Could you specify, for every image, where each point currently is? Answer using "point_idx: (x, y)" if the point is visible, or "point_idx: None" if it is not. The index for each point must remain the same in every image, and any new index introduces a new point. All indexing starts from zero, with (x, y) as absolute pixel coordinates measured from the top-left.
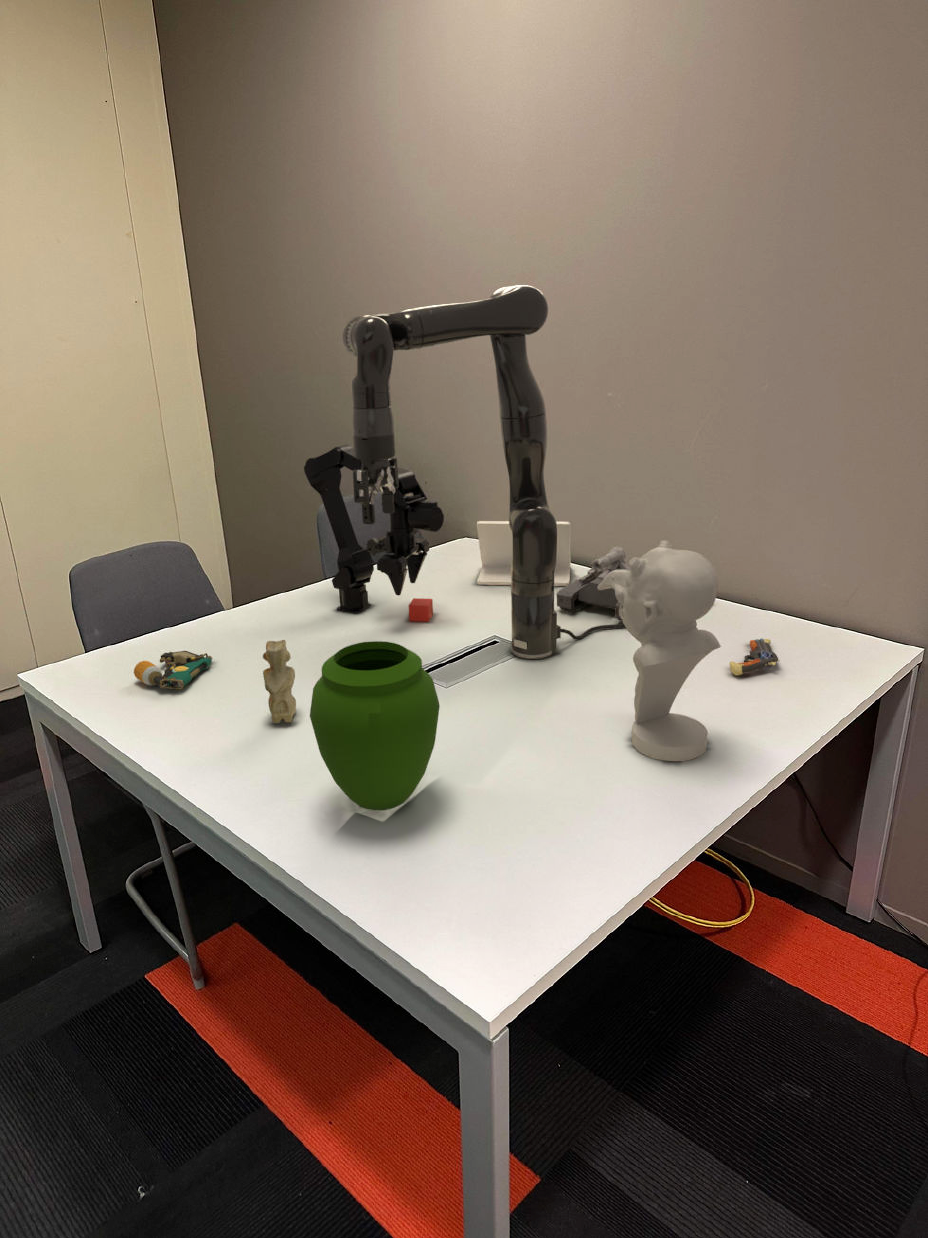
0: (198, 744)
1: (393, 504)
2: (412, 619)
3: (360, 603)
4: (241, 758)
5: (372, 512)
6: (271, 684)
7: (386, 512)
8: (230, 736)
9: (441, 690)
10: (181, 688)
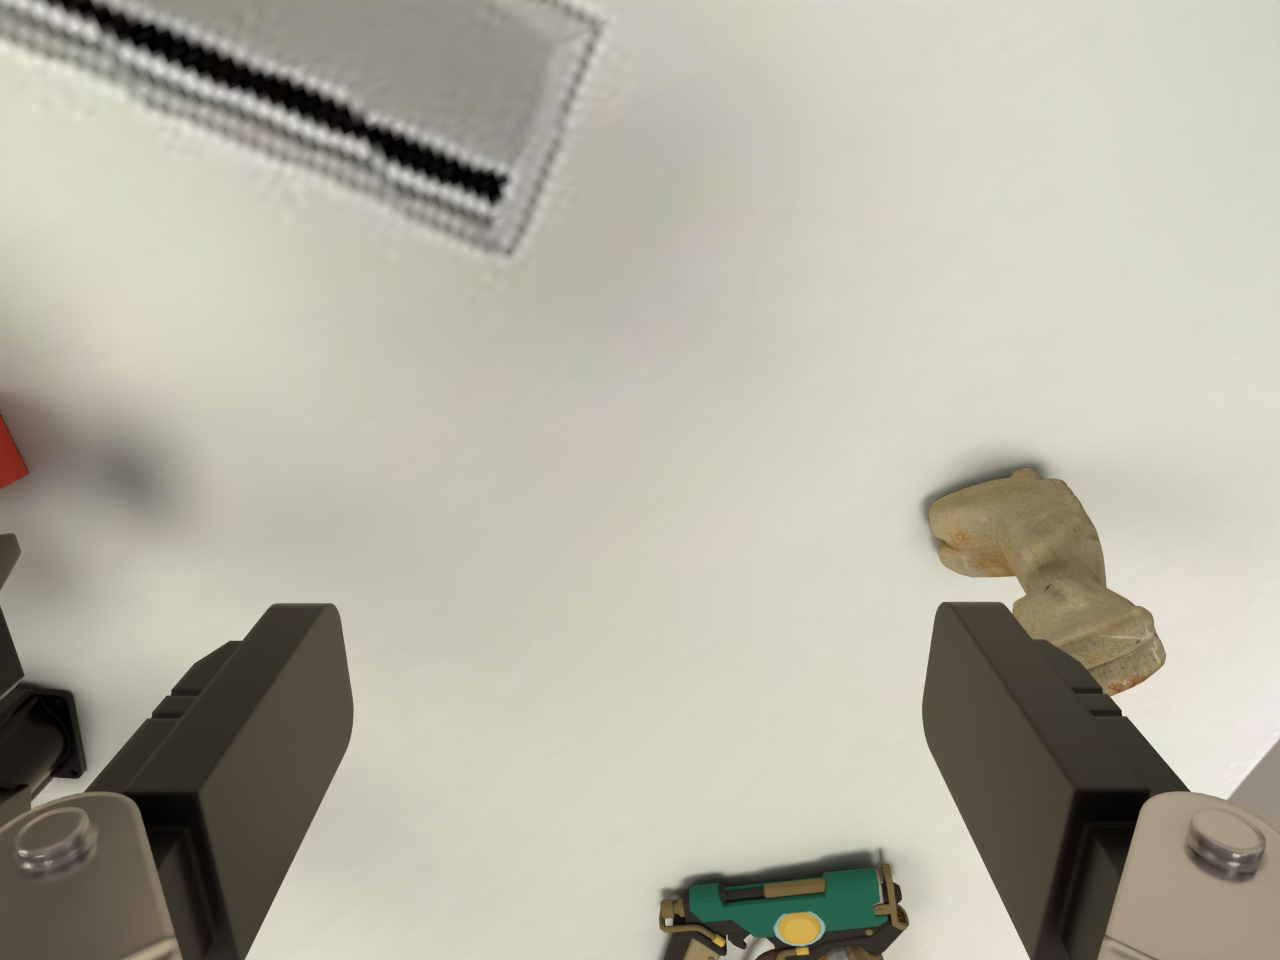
0: (1176, 648)
1: (244, 665)
2: (16, 463)
3: (20, 711)
4: (1252, 493)
5: (1072, 700)
6: (1103, 576)
7: (346, 685)
8: (1119, 594)
9: (629, 37)
10: (887, 865)
